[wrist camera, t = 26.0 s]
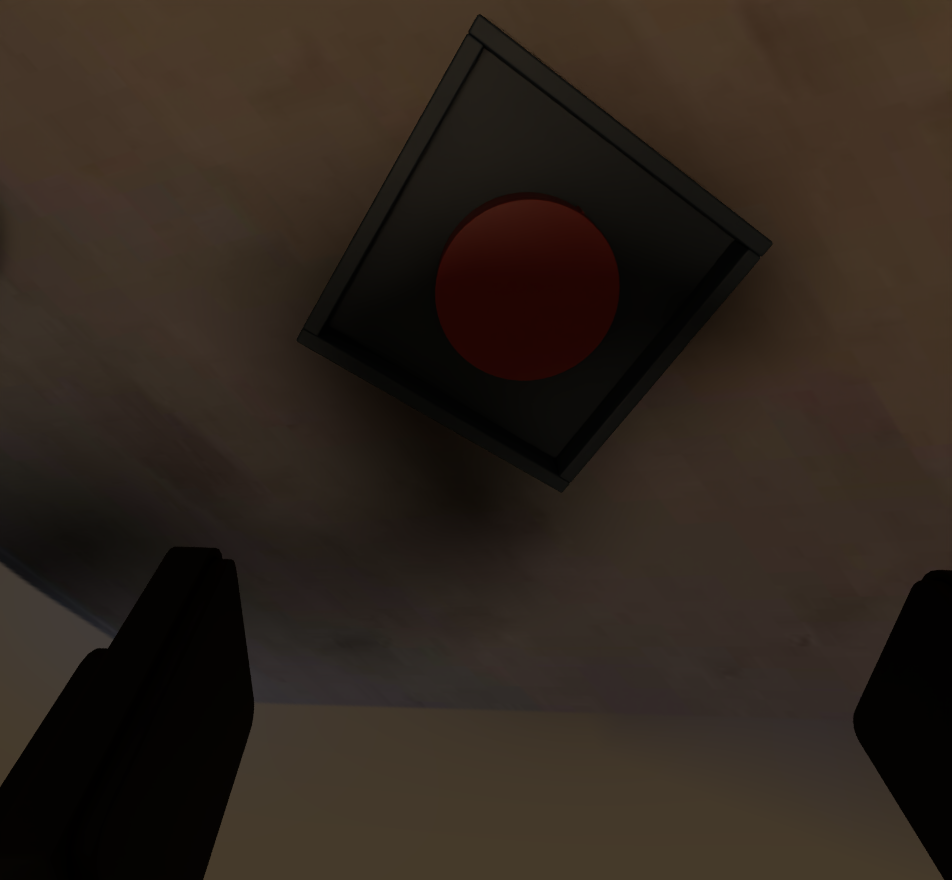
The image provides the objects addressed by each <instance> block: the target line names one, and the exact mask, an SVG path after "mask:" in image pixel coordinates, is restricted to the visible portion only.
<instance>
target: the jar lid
mask: <svg viewBox="0 0 952 880" xmlns="http://www.w3.org/2000/svg"><path fill="white" fill-rule="evenodd" d="M619 292H620V282H619V272H618V267H617V263H616V260H615V257H614V253H613V251H612V249H611V247H610V245H609V243H608V242H607V240H606V239H605V237H604V236H603V234H602V233H601V231H600V230H599V229H598V228H597V227H596V226H595V224H594V223H593V222H592V221H591V220H590V219H589V218H588V217H587V216H586V215H585V214H584V211H583V210H582V209H581V208H580V207H579V206H578V205H577V207H575V206H573V205H572V204H570V203H568V202H567V201H564V200H562V199H560V198H557V197H555V196H551V195H547V194H543V193H535V192H519V193H513V194H507V195H504V196H500V197H497V198H495V199H492V200H490V201H488V202H486V203H484V204H482V205H481V206H479V207H477V208H476V209H474V210H473V211H472V212H471V213H469V214H468V215H467V216H466V217H465V218H464V219H463V220H462V221H461V222H460V223H459V224H458V225H457V227H456V228H455V229H454V231H453V232H452V234H451V235H450V237H449V239H448V240H447V242H446V244H445V246H444V249H443V251H442V254H441V257H440V261H439V265H438V270H437V277H436V286H435V303H436V309H437V314H438V317H439V321H440V324H441V326H442V329H443V331H444V333H445V335H446V337H447V338H448V340H449V341H450V343H451V344H452V346H453V347H454V348H455V349H456V351H457V352H458V353H459V354H460V355H461V356H462V357H463V358H464V359H466V360H467V361H468V362H469V363H471V364H472V365H473V366H475V367H476V368H478V369H480V370H482V371H484V372H486V373H488V374H491V375H494V376H496V377H500V378H504V379H509V380H518V381H531V380H538V379H544V378H548V377H552V376H555V375H557V374H560V373H562V372H565V371H566V370H568V369H570V368H572V367H574V366H575V365H577V364H578V363H580V362H581V361H583V360H584V359H585V358H586V357H587V356H588V355H589V354H591V353H592V352H593V351H594V349H595V348H596V347H597V346H598V345H599V344H600V342H601V341H602V340H603V338H604V337H605V335H606V334H607V332H608V330H609V328H610V326H611V324H612V322H613V319H614V316H615V313H616V310H617V306H618V301H619Z"/></svg>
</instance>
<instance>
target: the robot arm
mask: <svg viewBox="0 0 952 880" xmlns="http://www.w3.org/2000/svg"><path fill="white" fill-rule="evenodd" d="M253 714H254V697H253V690H252V682H251V675H250V667H249V660H248V652H247V645H246V638H245V630H244V623H243V615H242V608H241V600H240V593H239V585H238V578H237V570H236V565H235V562H234V561H233V560H231V559H223V558H222V554H221V552H220V550H219V549H217V548H203V547H173V548H171V549H170V550H169V551H168V552H167V553H166V555H165V557H164V558H163V560H162V562H161V563H160V565H159V566H158V568H157V570H156V571H155V573H154V575H153V576H152V578H151V579H150V581H149V583H148V584H147V586H146V588H145V589H144V591H143V592H142V594H141V596H140V597H139V599H138V601H137V602H136V604H135V605H134V607H133V609H132V610H131V612H130V614H129V615H128V617H127V618H126V620H125V622H124V623H123V625H122V627H121V628H120V630H119V632H118V633H117V635H116V636H115V638H114V640H113V641H112V643H111V645H110V646H109V648H108V649H106V648H105V649H104V648H102V649H101V648H98V649H95V650H93V651H92V652H90V653H89V654H88V655H87V656H86V657H85V658H84V660H83V661H82V662H81V663H80V665H79V666H78V668H77V669H76V671H75V672H74V674H73V675H72V677H71V678H70V680H69V682H68V683H67V685H66V686H65V688H64V689H63V691H62V693H61V694H60V695H59V697H58V699H57V700H56V702H55V703H54V705H53V706H52V708H51V709H50V711H49V712H48V714H47V716H46V717H45V719H44V720H43V722H42V723H41V725H40V726H39V728H38V729H37V731H36V732H35V734H34V736H33V737H32V739H31V740H30V742H29V743H28V745H27V746H26V748H25V750H24V751H23V753H22V754H21V756H20V757H19V759H18V760H17V762H16V763H15V765H14V766H13V768H12V770H11V771H10V773H9V774H8V776H7V777H6V779H5V780H4V782H3V783H2V785H1V787H0V880H203V878H204V875H205V872H206V869H207V866H208V862H209V859H210V856H211V853H212V850H213V847H214V844H215V840H216V837H217V834H218V831H219V828H220V825H221V822H222V818H223V815H224V812H225V809H226V806H227V803H228V799H229V796H230V793H231V790H232V787H233V784H234V780H235V777H236V774H237V771H238V768H239V765H240V761H241V758H242V755H243V752H244V749H245V746H246V743H247V739H248V736H249V733H250V730H251V726H252V721H253ZM853 723H854V730H855V733H856V736H857V738H858V740H859V742H860V743H861V745H862V747H863V748H864V750H865V752H866V753H867V755H868V756H869V758H870V760H871V761H872V763H873V765H874V766H875V768H876V769H877V771H878V773H879V774H880V776H881V778H882V779H883V781H884V782H885V784H886V786H887V787H888V789H889V791H890V792H891V794H892V795H893V797H894V798H895V800H896V802H897V804H898V805H899V807H900V808H901V810H902V812H903V813H904V815H905V817H906V818H907V820H908V821H909V823H910V825H911V826H912V828H913V829H914V831H915V833H916V834H917V836H918V838H919V839H920V841H921V843H922V844H923V846H924V847H925V849H926V851H927V852H928V854H929V856H930V857H931V859H932V860H933V862H934V864H935V865H936V867H937V869H938V870H939V872H940V873H941V875H942V877H943V878H944V880H952V570H935V571H930V572H929V573H927V574H926V575H925V576H924V577H923V579H922V580H921V581H918V582H916V583H915V584H914V585H913V587H912V588H911V591H910V593H909V595H908V597H907V599H906V601H905V604H904V606H903V608H902V610H901V612H900V614H899V617H898V619H897V621H896V623H895V625H894V627H893V630H892V632H891V634H890V636H889V638H888V640H887V642H886V645H885V647H884V649H883V651H882V653H881V655H880V658H879V660H878V662H877V664H876V666H875V668H874V671H873V673H872V675H871V677H870V679H869V681H868V684H867V686H866V688H865V690H864V692H863V694H862V697H861V699H860V701H859V703H858V705H857V707H856V709H855V712H854V717H853Z"/></svg>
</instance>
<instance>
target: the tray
mask: <svg viewBox="0 0 952 880" xmlns="http://www.w3.org/2000/svg"><path fill="white" fill-rule="evenodd" d="M519 192H535V193H543V194H547V195H551V196H555V197H557V198H560V199H562V200H564V201H567V202H568V203H570V204H572V205H573V206H575V207H577V205H578V206H579V207H580V208H581V209H582V210H583V211H584V214H585V215H586V216H587V217H588V218H589V219H590V220H591V221H592V222H593V223H594V224H595V226H596V227H597V228H598V229H599V230H600V231H601V233H602V234H603V236H604V237H605V239H606V240H607V242H608V243H609V245H610V247H611V249H612V251H613V253H614V257H615V260H616V263H617V267H618V272H619V282H620V292H619V301H618V306H617V310H616V313H615V316H614V319H613V322H612V324H611V326H610V328H609V330H608V332H607V334H606V335H605V337H604V338H603V340H602V341H601V342H600V344H599V345H598V346H597V347H596V348H595V349H594V351H593V352H592V353H591V354H589V355H588V356H587V357H586V358H585V359H584V360H583V361H581V362H580V363H578V364H577V365H575V366H574V367H572V368H570V369H568V370H566V371H565V372H562V373H560V374H557V375H555V376H552V377H548V378H544V379H538V380H531V381H518V380H509V379H504V378H500V377H496V376H494V375H491V374H488V373H486V372H484V371H482V370H480V369H478V368H476V367H475V366H473V365H472V364H471V363H469V362H468V361H467V360H466V359H464V358H463V357H462V356H461V355H460V354H459V353H458V352H457V351H456V349H455V348H454V347H453V346H452V344H451V343H450V341H449V340H448V338H447V337H446V335H445V333H444V331H443V329H442V326H441V324H440V321H439V317H438V314H437V309H436V303H435V286H436V277H437V270H438V265H439V261H440V257H441V254H442V251H443V249H444V246H445V244H446V242H447V240H448V239H449V237H450V235H451V234H452V232H453V231H454V229H455V228H456V227H457V225H458V224H459V223H460V222H461V221H462V220H463V219H464V218H465V217H466V216H467V215H468V214H469V213H471V212H472V211H473V210H474V209H476V208H477V207H479V206H481V205H482V204H484V203H486V202H488V201H490V200H492V199H495V198H497V197H500V196H504V195H507V194H513V193H519ZM772 244H773V243H772V241H771V240H769V239H768V238H767V237H765V236H764V235H763V234H762V233H760V232H759V231H758V230H756V229H755V228H754V227H753V226H751V225H750V224H749V223H747V222H746V221H745V220H744V219H742V218H741V217H740V216H738V215H737V214H736V213H735V212H733V211H732V210H731V209H730V208H728V207H727V206H726V205H724V204H723V203H722V202H721V201H719V200H718V199H717V198H715V197H714V196H713V195H712V194H710V193H709V192H708V191H706V190H705V189H704V188H703V187H701V186H700V185H699V184H697V183H696V182H695V181H694V180H692V179H691V178H690V177H688V176H687V175H686V174H685V173H683V172H682V171H681V170H679V169H678V168H677V167H676V166H674V165H673V164H672V163H671V162H669V161H668V160H667V159H665V158H664V157H663V156H662V155H660V154H659V153H658V152H656V151H655V150H654V149H653V148H651V147H650V146H649V145H647V144H646V143H645V142H644V141H642V140H641V139H640V138H638V137H637V136H636V135H635V134H633V133H632V132H631V131H629V130H628V129H627V128H626V127H624V126H623V125H622V124H620V123H619V122H618V121H617V120H615V119H614V118H613V117H612V116H610V115H609V114H608V113H606V112H605V111H604V110H603V109H601V108H600V107H599V106H597V105H596V104H595V103H594V102H592V101H591V100H590V99H588V98H587V97H586V96H585V95H583V94H582V93H581V92H579V91H578V90H577V89H576V88H574V87H573V86H572V85H570V84H569V83H568V82H567V81H565V80H564V79H563V78H561V77H560V76H559V75H558V74H556V73H555V72H554V71H552V70H551V69H550V68H549V67H547V66H546V65H545V64H544V63H542V62H541V61H540V60H538V59H537V58H536V57H535V56H533V55H532V54H531V53H529V52H528V51H527V50H526V49H524V48H523V47H522V46H520V45H519V44H518V43H517V42H515V41H514V40H513V39H511V38H510V37H509V36H508V35H506V34H505V33H504V32H502V31H501V30H500V29H499V28H497V27H496V26H495V25H493V24H492V23H491V22H490V21H488V20H487V19H486V18H485V17H483V16H482V15H480V14H479V15H477V17H476V19H475V21H474V22H473V24H472V26H471V28H470V29H469V34H467V35H466V37H465V38H464V40H463V42H462V44H461V46H460V47H459V49H458V51H457V53H456V55H455V56H454V58H453V60H452V62H451V63H450V65H449V67H448V69H447V71H446V72H445V74H444V76H443V78H442V80H441V81H440V83H439V85H438V87H437V89H436V90H435V92H434V94H433V96H432V97H431V99H430V101H429V103H428V105H427V106H426V108H425V110H424V112H423V114H422V115H421V117H420V119H419V121H418V123H417V124H416V126H415V128H414V130H413V131H412V133H411V135H410V137H409V139H408V140H407V142H406V144H405V146H404V148H403V149H402V151H401V153H400V155H399V157H398V158H397V160H396V162H395V164H394V165H393V167H392V169H391V171H390V173H389V174H388V176H387V178H386V180H385V182H384V183H383V185H382V187H381V189H380V191H379V192H378V194H377V196H376V198H375V199H374V201H373V203H372V205H371V207H370V208H369V210H368V212H367V214H366V216H365V217H364V219H363V221H362V223H361V225H360V226H359V228H358V230H357V232H356V233H355V235H354V237H353V239H352V241H351V242H350V244H349V246H348V248H347V250H346V251H345V253H344V255H343V257H342V259H341V260H340V262H339V264H338V266H337V267H336V269H335V271H334V273H333V275H332V276H331V278H330V280H329V282H328V284H327V285H326V287H325V289H324V291H323V293H322V294H321V296H320V298H319V300H318V301H317V303H316V305H315V307H314V309H313V310H312V312H311V314H310V316H309V318H308V319H307V321H306V323H305V325H304V327H303V328H302V330H301V332H300V334H299V336H298V337H297V342H299V343H301V344H302V345H304V346H306V347H308V348H309V349H311V350H313V351H315V352H316V353H318V354H320V355H322V356H323V357H325V358H327V359H329V360H330V361H332V362H334V363H336V364H337V365H339V366H341V367H343V368H344V369H346V370H348V371H350V372H351V373H353V374H355V375H357V376H358V377H360V378H362V379H364V380H365V381H367V382H369V383H371V384H372V385H374V386H376V387H378V388H379V389H381V390H383V391H385V392H386V393H388V394H390V395H392V396H393V397H395V398H397V399H399V400H400V401H402V402H404V403H406V404H407V405H409V406H411V407H412V408H414V409H416V410H418V411H419V412H421V413H423V414H425V415H426V416H428V417H430V418H432V419H433V420H435V421H437V422H439V423H440V424H442V425H444V426H446V427H447V428H449V429H451V430H453V431H454V432H456V433H458V434H460V435H461V436H463V437H465V438H467V439H468V440H470V441H472V442H474V443H475V444H477V445H479V446H481V447H482V448H484V449H486V450H488V451H489V452H491V453H493V454H495V455H496V456H498V457H500V458H502V459H503V460H505V461H507V462H509V463H510V464H512V465H514V466H516V467H517V468H519V469H521V470H523V471H524V472H526V473H528V474H530V475H531V476H533V477H535V478H537V479H538V480H540V481H542V482H544V483H545V484H547V485H549V486H551V487H552V488H554V489H556V490H558V491H559V492H563V491H564V490H565V488H566V487H567V486H568V485H569V483H570V482H571V481H572V480H573V479H574V478H575V477H576V475H577V474H578V473H579V472H580V471H581V470H582V468H583V467H584V466H585V465H586V464H587V462H588V461H589V460H590V459H591V458H592V457H593V455H594V454H595V453H596V452H597V451H598V449H599V448H600V447H601V446H602V445H603V444H604V442H605V441H606V440H607V439H608V438H609V437H610V435H611V434H612V433H613V432H614V431H615V429H616V428H617V427H618V426H619V425H620V424H621V422H622V421H623V420H624V419H625V418H626V416H627V415H628V414H629V413H630V412H631V411H632V409H633V408H634V407H635V406H636V405H637V403H638V402H639V401H640V400H641V399H642V398H643V396H644V395H645V394H646V393H647V392H648V390H649V389H650V388H651V387H652V386H653V385H654V383H655V382H656V381H657V380H658V379H659V378H660V376H661V375H662V374H663V373H664V372H665V370H666V369H667V368H668V367H669V366H670V365H671V363H672V362H673V361H674V360H675V359H676V357H677V356H678V355H679V354H680V353H681V352H682V350H683V349H684V348H685V347H686V346H687V344H688V343H689V342H690V341H691V340H692V339H693V337H694V336H695V335H696V334H697V333H698V331H699V330H700V329H701V328H702V327H703V326H704V324H705V323H706V322H707V321H708V320H709V319H710V317H711V316H712V315H713V314H714V313H715V311H716V310H717V309H718V308H719V307H720V306H721V304H722V303H723V302H724V301H725V300H726V298H727V297H728V296H729V295H730V294H731V293H732V291H733V290H734V289H735V288H736V287H737V285H738V284H739V283H740V282H741V281H742V280H743V278H744V277H745V276H746V275H747V274H748V272H749V271H750V270H751V269H752V268H753V267H754V265H755V264H756V263H757V262H758V261H759V260H760V256H761V257H762V256H763V255H764V254H765V252H766V251H767V250H768V249H769V248H770V247H771V245H772Z"/></svg>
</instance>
